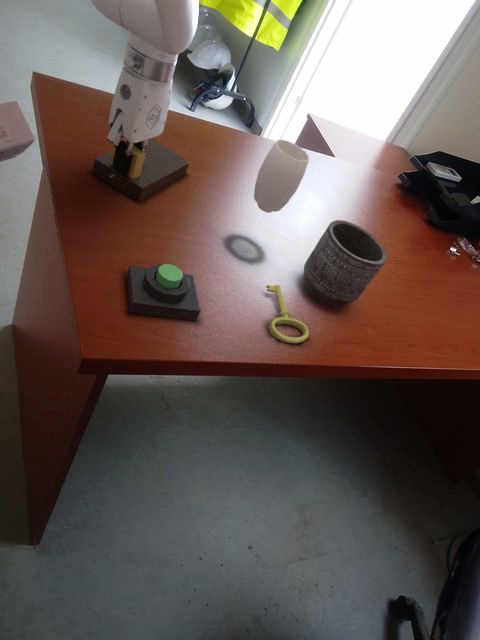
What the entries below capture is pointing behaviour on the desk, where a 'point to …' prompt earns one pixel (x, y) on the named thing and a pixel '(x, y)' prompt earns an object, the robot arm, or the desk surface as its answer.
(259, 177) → the cup
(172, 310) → the button box
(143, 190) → the plate
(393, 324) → the desk surface
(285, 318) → the key
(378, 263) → the planter
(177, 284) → the button
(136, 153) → the block
